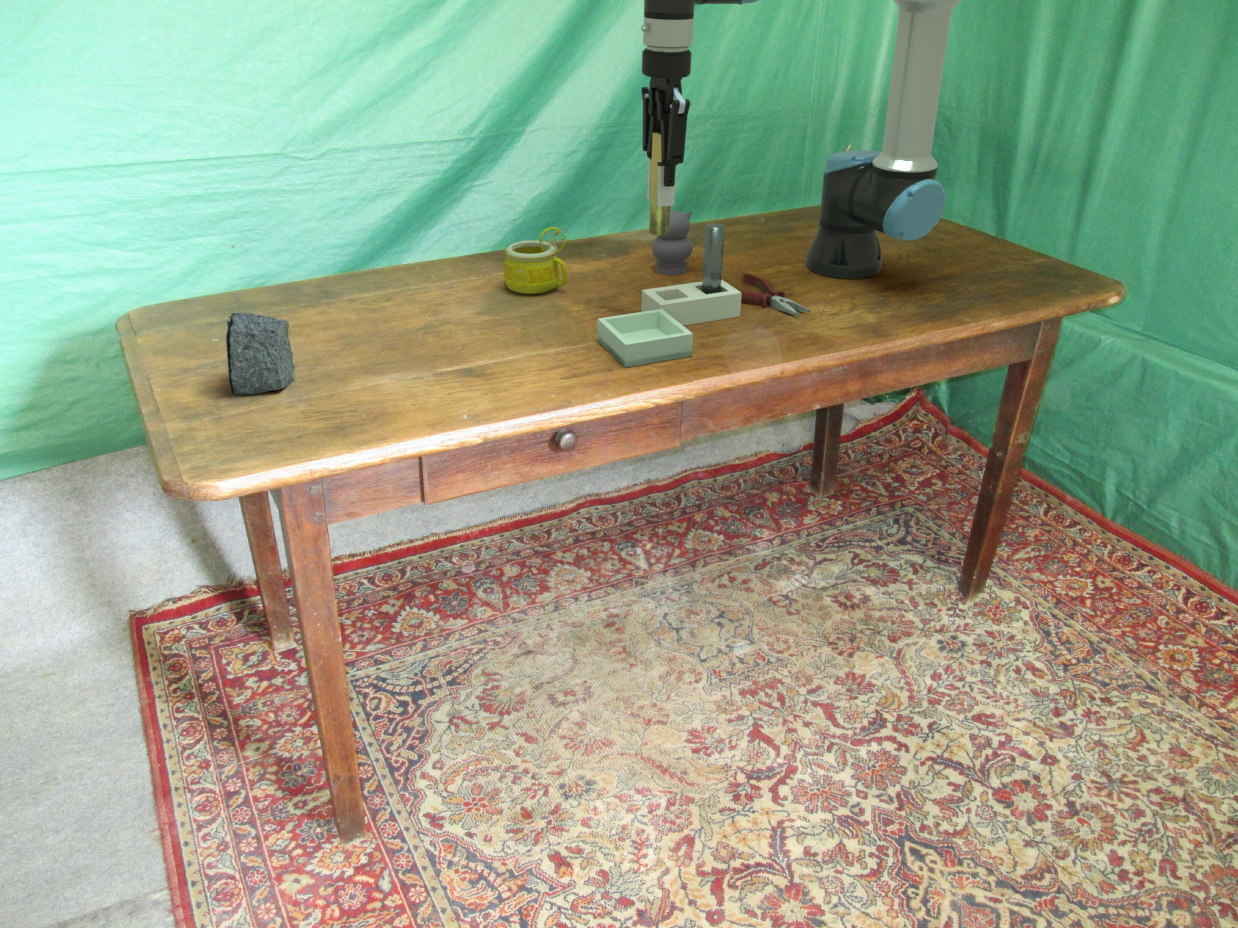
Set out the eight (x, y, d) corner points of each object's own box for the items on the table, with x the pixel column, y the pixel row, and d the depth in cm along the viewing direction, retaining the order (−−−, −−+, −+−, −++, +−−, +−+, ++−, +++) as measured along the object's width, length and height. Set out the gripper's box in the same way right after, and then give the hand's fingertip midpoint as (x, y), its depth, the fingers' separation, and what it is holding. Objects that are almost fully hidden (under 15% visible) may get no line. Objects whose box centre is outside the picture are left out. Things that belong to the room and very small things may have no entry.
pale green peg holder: (719, 301, 185) (720, 278, 183) (739, 316, 179) (741, 293, 176) (641, 313, 179) (641, 290, 177) (659, 329, 173) (660, 305, 171)
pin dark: (714, 307, 182) (718, 222, 174) (722, 314, 180) (728, 227, 172) (697, 310, 181) (701, 224, 173) (706, 316, 178) (710, 229, 170)
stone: (221, 405, 151) (236, 361, 157) (288, 413, 152) (300, 369, 159) (214, 347, 142) (231, 303, 149) (285, 357, 144) (299, 313, 150)
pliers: (782, 326, 176) (783, 313, 174) (705, 295, 189) (705, 282, 188) (825, 312, 182) (826, 299, 181) (747, 283, 195) (748, 270, 194)
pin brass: (664, 228, 166) (668, 130, 158) (672, 234, 163) (677, 134, 155) (645, 230, 165) (649, 131, 157) (653, 236, 162) (657, 136, 154)
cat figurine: (678, 261, 205) (680, 203, 199) (699, 272, 199) (702, 213, 193) (643, 267, 201) (644, 209, 195) (664, 279, 195) (666, 219, 189)
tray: (661, 330, 173) (661, 308, 171) (691, 356, 163) (693, 333, 161) (597, 340, 169) (597, 318, 167) (625, 367, 159) (625, 344, 157)
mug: (494, 293, 188) (490, 231, 182) (520, 275, 197) (517, 216, 191) (554, 302, 184) (552, 240, 178) (578, 284, 193) (577, 223, 187)
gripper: (624, 42, 155) (620, 191, 167) (666, 56, 142) (659, 217, 154) (667, 41, 158) (661, 188, 169) (713, 55, 144) (703, 213, 156)
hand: (660, 202), depth 161 cm, fingers closed on pin brass, 3 cm apart
